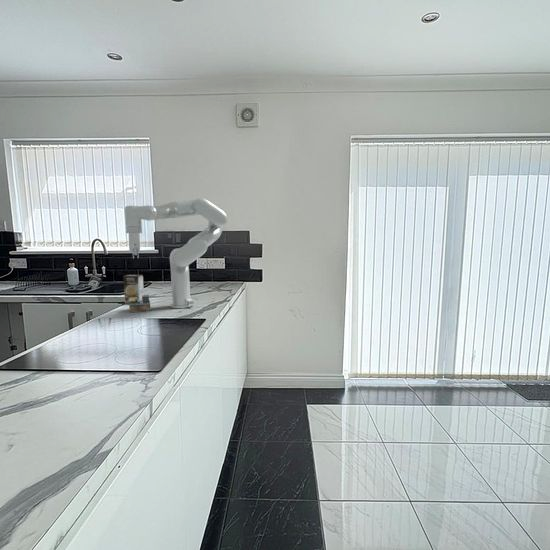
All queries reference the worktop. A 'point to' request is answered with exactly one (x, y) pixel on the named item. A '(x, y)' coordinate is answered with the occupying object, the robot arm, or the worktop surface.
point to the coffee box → (133, 287)
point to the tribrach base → (139, 308)
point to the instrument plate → (139, 301)
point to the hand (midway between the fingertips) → (136, 266)
